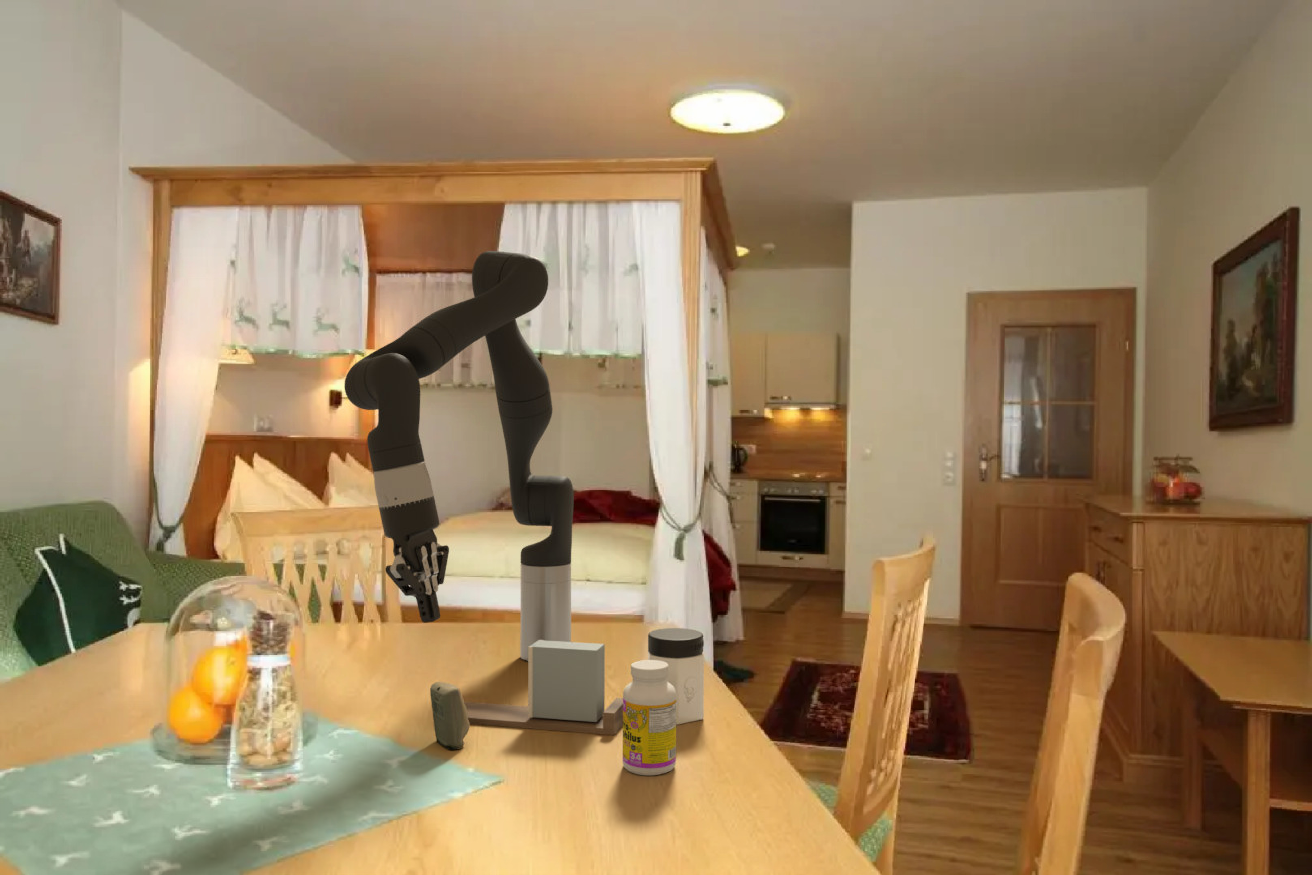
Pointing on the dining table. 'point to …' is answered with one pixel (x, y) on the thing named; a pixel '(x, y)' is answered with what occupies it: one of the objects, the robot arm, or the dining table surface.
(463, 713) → the beige rounded block
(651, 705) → the supplement bottle
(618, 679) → the dining table surface
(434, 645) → the dining table surface
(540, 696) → the grey square block
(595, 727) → the rail
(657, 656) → the jar
